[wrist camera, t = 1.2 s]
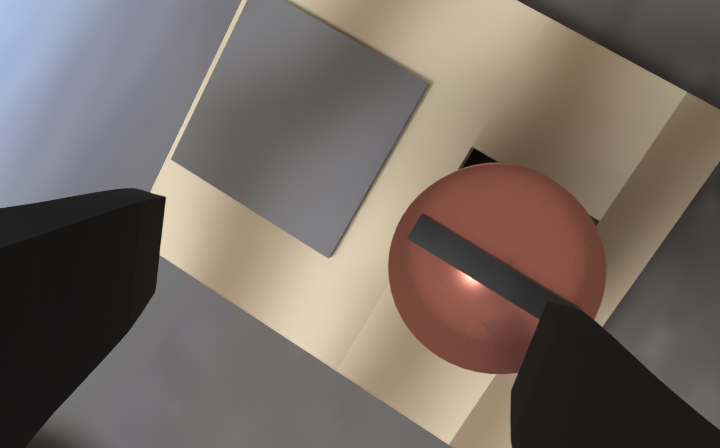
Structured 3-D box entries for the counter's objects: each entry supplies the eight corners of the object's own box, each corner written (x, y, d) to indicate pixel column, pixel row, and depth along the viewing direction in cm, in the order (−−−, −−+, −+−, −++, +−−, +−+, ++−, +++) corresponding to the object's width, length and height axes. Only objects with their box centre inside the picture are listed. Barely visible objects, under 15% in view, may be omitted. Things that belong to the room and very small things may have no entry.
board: (717, 126, 20) (750, 123, 17) (497, 440, 23) (496, 480, 20) (321, -89, 22) (295, -122, 19) (166, 226, 25) (124, 236, 22)
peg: (606, 207, 21) (655, 239, 14) (521, 333, 22) (528, 419, 15) (471, 130, 22) (455, 124, 15) (396, 255, 23) (348, 304, 16)
